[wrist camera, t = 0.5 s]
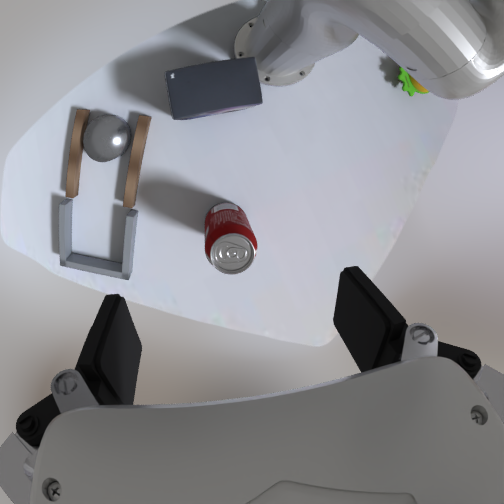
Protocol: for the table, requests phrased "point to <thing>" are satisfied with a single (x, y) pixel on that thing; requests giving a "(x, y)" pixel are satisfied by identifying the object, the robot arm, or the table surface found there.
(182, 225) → the table surface
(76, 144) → the walnut slot
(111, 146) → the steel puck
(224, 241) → the soda can
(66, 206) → the grey u-shaped frame
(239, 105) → the small box
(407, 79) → the toy pineapple
